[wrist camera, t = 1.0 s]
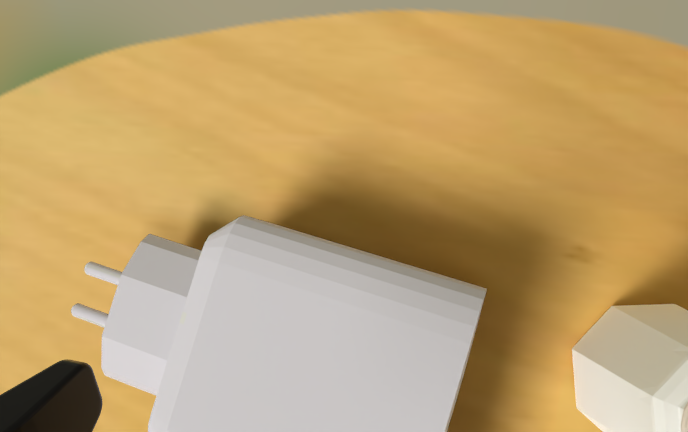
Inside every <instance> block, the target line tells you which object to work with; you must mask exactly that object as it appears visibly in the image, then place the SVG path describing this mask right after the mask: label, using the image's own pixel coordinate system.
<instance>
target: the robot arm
mask: <svg viewBox="0 0 688 432" xmlns="http://www.w3.org/2000/svg"><path fill="white" fill-rule="evenodd" d="M101 409H102V397H101V394H100V391H99V388H98V385H97V382H96V379H95V376H94V373H93V370H92V368H91V366H90V365H88V364H87V363H84V362H78V361H73V360H62V361H59V362H57V363H55V364H54V365H52V366H50V367H48V368H47V369H45V370H43V371H41V372H40V373H38V374H36V375H34V376H33V377H31V378H29V379H27V380H26V381H24V382H22V383H20V384H19V385H17V386H15V387H13V388H12V389H10V390H8V391H7V392H5V393H3V394H1V395H0V432H92V431H93V429H94V427H95V424H96V422H97V420H98V418H99V416H100V413H101Z"/></svg>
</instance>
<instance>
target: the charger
mask: <svg viewBox="0 0 688 432" xmlns="http://www.w3.org/2000/svg"><path fill="white" fill-rule="evenodd" d="M85 273H86V274H87V275H90V276H93V277H96V278H99V279H102V280H105V281H107V282H110V283H113V284H116V285H118V286H117V290H116V293H115V296H114V299H113V302H112V306H111V309H110V312H109V314H106V313H103V312H101V311H98V310H95V309H92V308H90V307H87V306H84V305H82V304H79V303H77V304H75V305H74V306H73V307H72V309H71V313H72V315H73V316H74V317H77V318H80V319H82V320H85V321H88V322H91V323H93V324H96V325H99V326H101V327H104V331H103V334H102V370H103V372H104V374H105V376H108V377H110V378H113V379H115V380H118V381H120V382H123V383H125V384H128V385H131V386H133V387H136V388H138V389H141V390H143V391H146V392H148V393H151V394H153V395H156V400H155V403H154V406H153V409H152V413H151V416H150V420H149V425H148V432H447V431H448V427H449V424H450V420H451V417H452V414H453V410H454V407H455V403H456V400H457V397H458V393H459V390H460V386H461V383H462V379H463V376H464V373H465V369H466V365H467V361H468V358H469V354H470V350H471V347H472V343H473V339H474V336H475V332H476V328H477V324H478V321H479V317H480V313H481V310H482V306H483V302H484V299H485V295H486V291H487V288H483V287H480V286H477V285H473V284H470V283H467V282H464V281H460V280H457V279H454V278H450V277H447V276H444V275H441V274H437V273H434V272H431V271H427V270H424V269H421V268H418V267H414V266H411V265H408V264H404V263H401V262H398V261H395V260H391V259H388V258H385V257H381V256H378V255H375V254H371V253H368V252H365V251H362V250H358V249H355V248H352V247H348V246H345V245H342V244H339V243H335V242H332V241H329V240H325V239H322V238H319V237H316V236H312V235H309V234H306V233H302V232H299V231H296V230H292V229H289V228H286V227H283V226H279V225H276V224H273V223H269V222H266V221H262V220H259V219H255V218H251V217H248V216H244V215H243V216H241V217H239V218H237V219H235V220H234V221H232V222H230V223H229V224H227V225H225V226H224V227H222V228H220V229H219V230H217V231H216V232H214V233H212V234H211V235H209V237H208V238H207V240H206V242H205V244H204V246H203V249H202V251H201V250H198V249H195V248H192V247H189V246H185V245H182V244H179V243H176V242H173V241H170V240H167V239H164V238H161V237H158V236H155V235H151V234H149V235H148V236H147V237H145V238H144V239H143V240H142V241H141V243H140V244H139V246H138V248H137V249H136V251H135V253H134V254H133V256H132V258H131V259H130V261H129V263H128V264H127V266H126V267H125V269H124V271H123V272H120V271H117V270H114V269H111V268H109V267H106V266H103V265H100V264H97V263H94V262H89V263H87V264H86V266H85Z"/></svg>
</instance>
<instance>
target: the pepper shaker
mask: <svg viewBox="0 0 688 432" xmlns="http://www.w3.org/2000/svg"><path fill="white" fill-rule="evenodd" d="M572 357H573V370H574V382H575V395H576V408H577V409H578V410H579V411H580V412H582V413H583V414H584V415H585V416H586V417H587V418H588V419H589V420H590V421H591V422H593V423H594V424H595V425H596V426H597V427H598V428H599V429H600V430H601V431H603V432H688V310H686V309H684V308H682V307H680V306H678V305H676V304H653V305H623V306H611V307H610V308H609V309H608V310H607V311H606V313H605V314H604V315H603V316H602V317H601V318H600V319H599V320H598V321H597V322H596V323H595V324H594V325H593V326H592V328H591V329H590V330H589V331H588V332H587V333H586V334H585V335H584V336H583V337H582V338H581V339H580V340H579V341H578V343H577V344H576V345H575V346H574V347H573V348H572Z"/></svg>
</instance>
